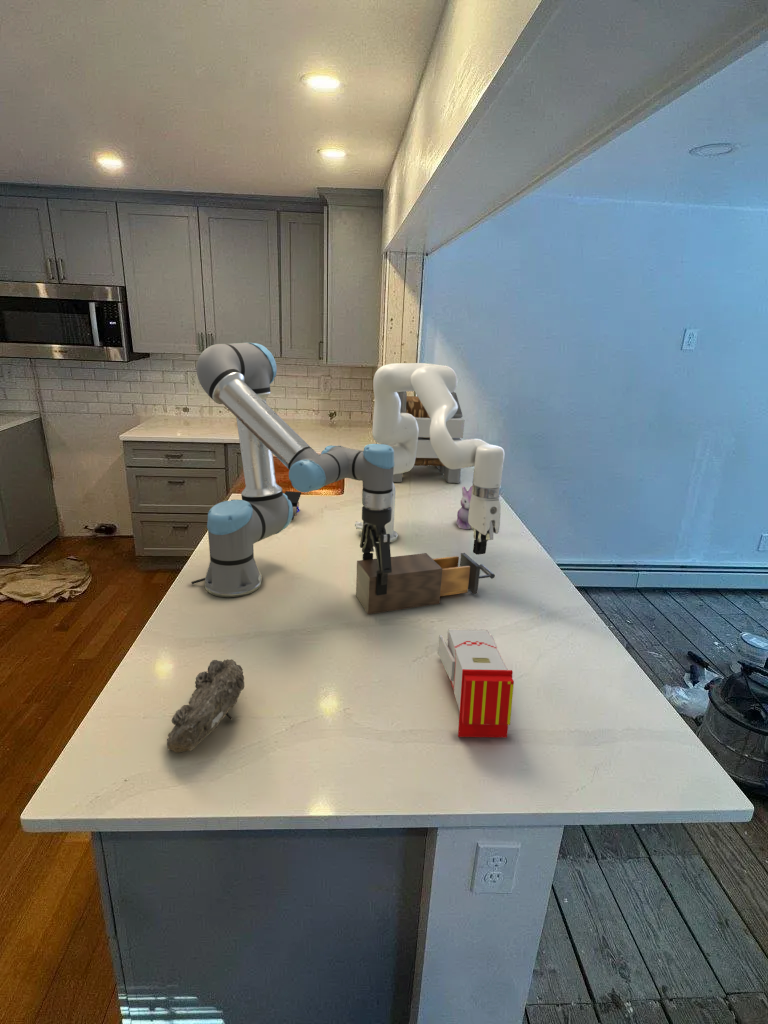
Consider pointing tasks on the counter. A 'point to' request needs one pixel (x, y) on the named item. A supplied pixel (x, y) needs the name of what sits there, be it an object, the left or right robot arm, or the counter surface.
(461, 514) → the figurine
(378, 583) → the left robot arm
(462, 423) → the transformer
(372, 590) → the cabinet
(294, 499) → the figurine character
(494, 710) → the toy
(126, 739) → the counter surface
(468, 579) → the drawer
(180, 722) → the fossil
